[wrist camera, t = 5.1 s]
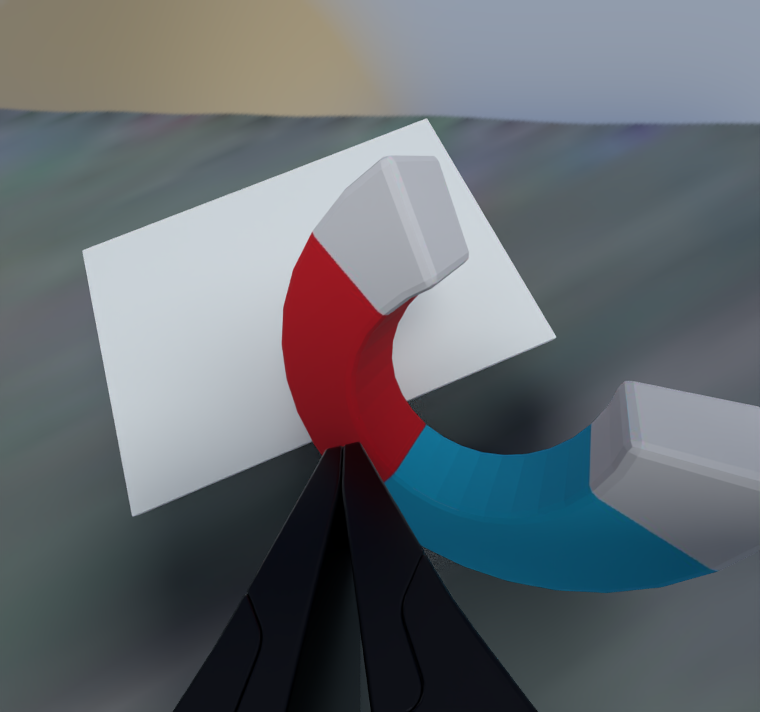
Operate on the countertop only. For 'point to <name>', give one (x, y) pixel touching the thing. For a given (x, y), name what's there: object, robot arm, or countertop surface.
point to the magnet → (494, 471)
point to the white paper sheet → (271, 320)
